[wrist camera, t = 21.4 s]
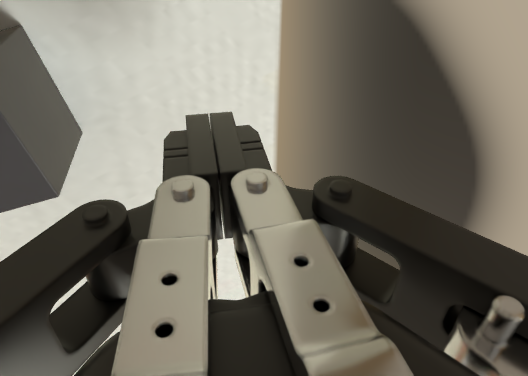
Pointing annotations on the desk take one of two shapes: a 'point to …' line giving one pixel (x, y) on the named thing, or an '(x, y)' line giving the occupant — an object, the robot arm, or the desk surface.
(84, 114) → the desk surface
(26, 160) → the block charcoal
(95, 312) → the robot arm
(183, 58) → the desk surface
